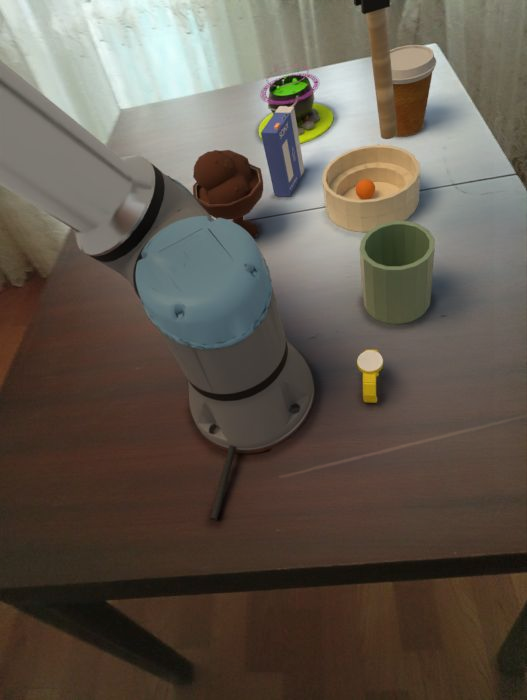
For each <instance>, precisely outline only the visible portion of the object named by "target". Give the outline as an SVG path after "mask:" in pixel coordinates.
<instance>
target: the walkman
mask: <svg viewBox="0 0 527 700" xmlns="http://www.w3.org/2000/svg"><path fill="white" fill-rule="evenodd" d="M261 136H262V139H261V141H262V145H263V150H264V153H265V158H266V159H265V160H266V163H267V168H268V172H269V176H270V181H271V185H272V189H273V193H274V196H275V197H283V198H285V197H286V198H290V196H291V194H292V193H293V192H294V190H295V188H296V186H297V185H298V183H299V181H300V179H301V178H302V176H303V174H304V172H305V166H304V161H303V154H302V148H301V144H300V141H299V135H298V129H297V122H296V116H295V110H294V107H287V106H280V107H278V109H277V110H276V111H275V113H274V115H273V116H272V117H271V119H270V120H269V122H268V123H267V125H266V126H265V127H264V129H263V130H262V132H261Z"/></svg>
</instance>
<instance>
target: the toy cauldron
mask: <svg viewBox="0 0 527 700" xmlns="http://www.w3.org/2000/svg"><path fill="white" fill-rule="evenodd" d="M284 63H286V61H283V64H284ZM280 65H281V63H279V64H276V65H275V66H274V69H273V71H275V72H276V73H278V72H279V73H282V69H284V68H286V66H284V67H281V68H280V69H281V70H278V69H277V68H278V66H280ZM290 67H292V68H291V69H290V71H293V70H294V69H295V68H297V67H301V65H299V64H298V62H297V61H296V60H294V64H293V65H292V64H291V65H290ZM302 68H304V69H305V70H306V73H299V69H297V70H296V72H297V73H292V74H286V75H284V76H281V77H277V78H275V79H273V80H272V81H270V82H269V78H270V76H271V75H272V74H273V72H271V73H270V74H269V76H267V79H265V80H266V84H265V85H264V86H263V87H262V89H260V92H259V93H260V94H259V97H260V99H261V100H262V101H263V102H265V103H267V105H268V106H267V109H269V110H270V111H271V113H270V114H268V115H267V116H266V117H265V118H264V119H263V120H262V121H261V122H260V124H259V125H258V126H259V127H258V135H259V137H260V139H261V140H262V136H261V132H262V130H263V129H264V127H265V126H266V125H267V123H268V122H269V120H270V119H271V117H272V116H273V115H274V113H275V111H276V110H277V109H278V107H280V106H287V107H294V110H295V116H296V122H297V129H298V135H299V141H300V145H301V144H303V143H304V144H305V143H307V142H309V141H312V140H314V139H317V138H319V137H320V136H321V135H323V134H324V133H326V132H327V131H328V130H329V129H330V128H331V126H332V124H333V122H334V114H333V111H332V110H331V109H330V108H329V107H327V106H325V105H323V104H320V103H314V101H315V91H317V90H318V89H319V87H320V84H321V81H320V80H319V78H318V77H316V75H314V74H311V73H309V71H310V70H309V68H308V67H306V66H304V65H303V66H302ZM284 73H287V70H284ZM310 79H311V80H312V82H313V86H312V85H311V81H310ZM267 91H268V96H267Z"/></svg>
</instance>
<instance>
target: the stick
mask: <svg viewBox="0 0 527 700" xmlns="http://www.w3.org/2000/svg"><path fill="white" fill-rule="evenodd" d="M365 15H366V23H367V31H368V39H369V49H370V56H371V64H372V73H373V83H374V88H375V89H374V90H375V98H376V107H377V115H378V124H379V132H380V133H379V134H380V137H381V139H383V140H390V139H393V138H395V137H397V136H396V135H397V125H396V114H395V103H394V92H393V81H392V70H391V59H390V50H391V48H390V39H389V29H388V26H389V25H388V17H387V16H388V15H387V8H383V9H380V10H377V11H373V12H370V13H367V14H365Z"/></svg>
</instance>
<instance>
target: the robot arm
mask: <svg viewBox="0 0 527 700" xmlns="http://www.w3.org/2000/svg"><path fill="white" fill-rule="evenodd" d="M353 5H354V6H355V7H359V6H360V10H361V14H363V15H366V14H367V13H370V12H373V11H377V10H380V9H383V8H386V9H387V8H390V7H391V0H353ZM0 186H1V187H3V188H5V189H6V190H8V191H10V192H11V193H13V194H14V195H16V196H18V197H19V198H22V199H23V200H24V201H26V202H27V203H29V204H31V205H32V206H34V207H35V208H38V210H39V209H40V210H41V211H43V212H44V213H46V214H47V215H49V216H51V217H53V218H54V219H56V220H58V222H60V223H62V224H64V225H65V226H67V227H69V228H71V229H72V230H73V233H74V238H75V243H76V245H77V247H78V248H79V250H80V252H82V253H84V254H85V255H87V256H88V257H91V258H92V259H94V260H96V261H98V262H99V263H101V264H103V265H104V266H106V267H108V268H109V269H111V270H113V271H115V272H116V273H118V274H120V275H121V276H122V277H123V278H125V279H126V280H127V281H128V282H129V284H130V285H131V287H132V288H133V290H134V292H135V293H136V295H137V297H138V299H139V300H140V303H141V305H142V308H143V309H144V311H145V313H146V315H147V317H148V318H149V320H150V321H151V323H152V324H153V325H154V326H155V327H156V328H157V330H158V332H159V334H160V335H161V337H162V338H163V340H164V342H165V343H166V345H167V347H168V348H169V350H170V352H171V354H172V355H173V357H174V358H175V360H176V362H177V364H178V366H179V367H180V369H181V370H182V372H183V374H184V376H185V378H186V379H187V382H188V401H189V402H188V405H189V410H190V413H191V416H192V419H193V421H194V424H195V426H196V427H197V429H198V430H199V432H200V433H201V435H202V436H203V437H204V438H205V439H206V440H207V441H208V442H209V443H210V444H212V445H214V446H215V447H216V448H219V449H221V450H223V451H225V452H226V457H225V461H224V464H223V468H222V472H221V476H220V479H219V483H218V486H217V487H218V488H217V492H216V496H215V500H214V503H213V506H212V509H211V513H210V516H209V519H210V520H212V521H218V520H219V519H218V518H219V515H220V512H221V510H222V509H221V508H222V505H223V502H224V497H225V493H226V489H227V485H228V482H229V478H230V473H231V469H232V465H233V461H234V458H235V454H240V455H241V454H244V455H250V454H257V453H263V452H266V451H269V450H272V448H275V447H276V446H278V445H280V444H282V443H284V442H285V441H286V440H288V439H290V438H291V437H292V436H293V435H294V434H296V433H297V432H298V431H299V429H300V428H301V427H302V426H303V425H304V423H305V422H306V421H307V419H308V417H309V415H310V414H311V411H312V408H313V406H314V402H315V394H316V393H315V391H316V390H315V384H314V382H315V381H314V378H313V374H312V371H311V368H310V366H309V365H308V363H307V361H306V360H305V358H304V356H303V355H302V354H301V353H300V352H299V351H298V350H297V349H296V348H295V346H293V345H292V344H291V342H290V341H288V339H287V337H286V334H285V329H284V326H283V321H282V318H281V314H280V311H279V308H278V304H277V300H276V296H275V292H274V288H273V286H272V285H273V284H272V278H271V272H270V268H269V266H268V265H267V261H266V259H265V257H264V255H263V253H262V252H261V249H260V247H259V245H258V243H257V242H256V240H255V238H254V239H253V237H252V236H251V235H250V234H249V233H248V232H247V231H246V230H245V229H244V228H242V227H241V226H239V225H238V224H236V223H234V222H233V220H227V219H223V218H214V217H213V216H211V215H209V214H208V213H207V211H206V210H205V209H204V208H203V207H202V206H201V205H200V204H199V203H198V202H197V201H196V199H195V197H194V196H193V192H192V191H190V190H189V189H188V188H187V187H186V186H185V184H184V185H183V183H182V182H180V181H178V180H177V179H175V178H173V177H171V176H170V175H167V174H165V173H163V171H162V170H160V169H159V168H158V167H157V166H155V165H154V164H153V163H152V162H151V161H149V159H147V158H146V157H144V156H141V155H136V154H134V155H127V156H122V157H121V156H120V155H118V154H117V153H116V152H115V151H113V150H112V149H111V148H110V147H109V146H107V145H106V144H105V143H104V142H103V141H101V140H100V139H99V138H97V137H96V136H95V135H94V134H93V133H91V132H90V131H89V130H87V128H85V127H84V126H83V125H81V123H79V122H78V121H76V120H75V119H74V118H73V117H72V116H70V115H69V114H68V113H67V112H65V110H63V109H62V108H61V107H59V106H58V105H57V104H55V102H53V101H52V100H51V99H49V98H48V97H47V96H46V95H44V94H43V93H42V92H41V91H39V90H38V88H35V87H34V86H33V85H32V84H31V83H30V82H28V81H27V80H26V79H24V78H23V77H22V76H21V75H19V73H18V72H16V71H15V70H14V69H12V68H11V67H10V66H8V64H6V63H5V62H4V61H2V60H1V59H0Z"/></svg>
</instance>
